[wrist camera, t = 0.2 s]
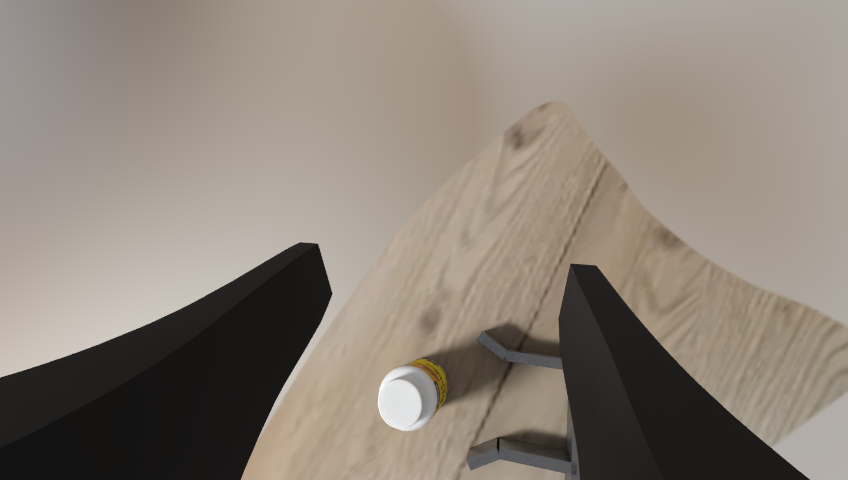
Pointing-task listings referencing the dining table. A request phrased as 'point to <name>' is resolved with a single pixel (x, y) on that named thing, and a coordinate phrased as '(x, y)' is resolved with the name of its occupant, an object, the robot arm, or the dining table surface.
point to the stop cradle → (522, 450)
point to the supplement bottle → (412, 394)
